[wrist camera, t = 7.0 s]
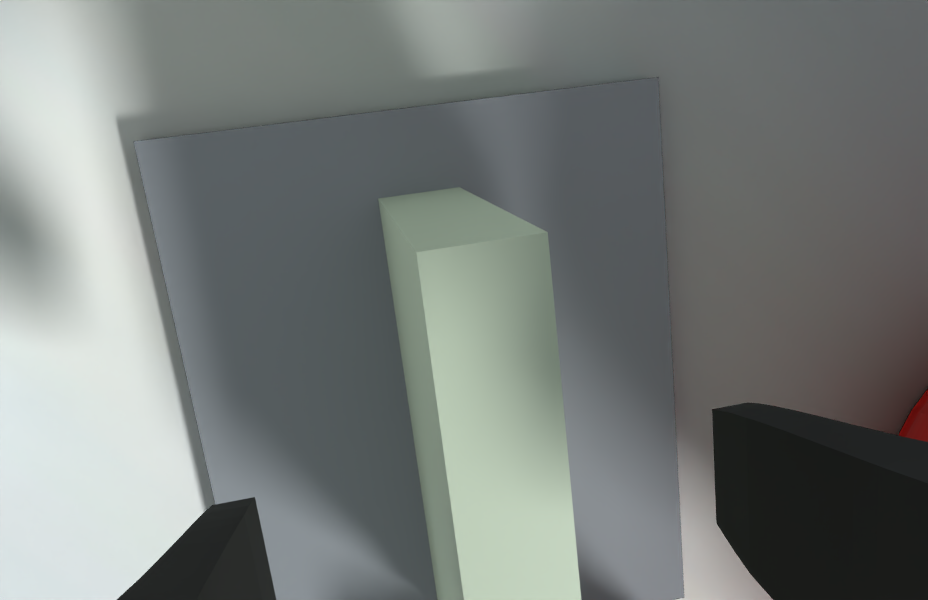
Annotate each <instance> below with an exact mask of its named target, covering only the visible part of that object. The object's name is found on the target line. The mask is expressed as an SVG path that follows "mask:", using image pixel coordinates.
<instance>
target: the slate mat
mask: <svg viewBox="0 0 928 600" xmlns="http://www.w3.org/2000/svg"><path fill="white" fill-rule="evenodd" d="M134 146H135V150H136V155H137V159H138V164H139V168H140V173H141V177H142V181H143V186H144V190H145V195H146V199H147V204H148V208H149V213H150V217H151V221H152V226H153V230H154V235H155V239H156V244H157V248H158V252H159V257H160V261H161V266H162V270H163V275H164V279H165V284H166V288H167V292H168V297H169V301H170V306H171V310H172V315H173V319H174V323H175V328H176V332H177V337H178V341H179V346H180V350H181V355H182V359H183V363H184V368H185V372H186V377H187V381H188V386H189V390H190V394H191V399H192V403H193V408H194V412H195V417H196V421H197V426H198V430H199V434H200V439H201V443H202V448H203V452H204V457H205V461H206V465H207V470H208V474H209V479H210V483H211V488H212V492H213V497H214V501H215V505H216V504H221V503H226V502H231V501H237V500H242V499H247V498H252V497H255V500H256V505H257V509H258V514H259V519H260V524H261V529H262V533H263V538H264V543H265V548H266V553H267V557H268V562H269V567H270V572H271V576H272V581H273V586H274V591H275V596H276V600H437V593H436V586H435V579H434V573H433V566H432V559H431V552H430V546H429V539H428V532H427V525H426V519H425V512H424V505H423V498H422V492H421V485H420V478H419V471H418V465H417V458H416V451H415V444H414V437H413V431H412V424H411V417H410V410H409V404H408V397H407V390H406V383H405V377H404V370H403V363H402V356H401V350H400V343H399V336H398V329H397V323H396V316H395V309H394V302H393V295H392V289H391V282H390V275H389V268H388V262H387V255H386V248H385V241H384V235H383V228H382V221H381V214H380V208H379V201H378V199H379V198H386V197H393V196H400V195H407V194H414V193H421V192H428V191H436V190H443V189H450V188H457V187H460V188H462V189H464V190H466V191H468V192H470V193H472V194H474V195H476V196H478V197H480V198H482V199H484V200H486V201H488V202H490V203H491V204H493V205H495V206H497V207H499V208H501V209H503V210H505V211H507V212H509V213H511V214H513V215H515V216H517V217H519V218H521V219H523V220H525V221H527V222H529V223H531V224H533V225H535V226H536V227H538V228H540V229H542V230H544V231H546V232H548V241H549V252H550V263H551V274H552V285H553V296H554V306H555V317H556V328H557V339H558V350H559V361H560V372H561V383H562V394H563V405H564V416H565V427H566V438H567V449H568V460H569V471H570V481H571V492H572V503H573V514H574V525H575V536H576V547H577V558H578V569H579V580H580V591H581V600H675V599H680V598H684V582H683V562H682V542H681V522H680V502H679V482H678V462H677V442H676V422H675V402H674V382H673V362H672V342H671V322H670V301H669V281H668V261H667V241H666V221H665V201H664V181H663V161H662V141H661V121H660V101H659V81H658V77H656V78H647V79H639V80H631V81H623V82H614V83H606V84H598V85H590V86H582V87H574V88H566V89H557V90H549V91H541V92H533V93H525V94H517V95H508V96H500V97H492V98H484V99H476V100H468V101H459V102H451V103H443V104H435V105H427V106H419V107H410V108H402V109H394V110H386V111H378V112H370V113H361V114H353V115H345V116H337V117H329V118H321V119H312V120H304V121H296V122H288V123H280V124H272V125H263V126H255V127H247V128H239V129H231V130H223V131H215V132H206V133H198V134H190V135H182V136H174V137H166V138H157V139H149V140H141V141H134Z"/></svg>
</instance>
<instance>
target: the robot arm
mask: <svg viewBox="0 0 928 600" xmlns="http://www.w3.org/2000/svg"><path fill="white" fill-rule="evenodd" d="M712 415H713V442H714V468H715V495H716V521H717V525H718V526H719V528H720V529H721V531H722V533H723V534H724V536H725V537H726V539H727V540H728V542H729V543H730V545H731V546H732V548H733V550H734V551H735V552H736V554H737V555H738V557H739V558H740V560H741V561H742V562H743V564H744V565H745V567H746V568H747V570H748V571H749V572H750V574H751V575H752V576H753V577H754V578H755V580H756V581H757V582H758V583H759V584H760V585H761V586H762V588H763V589H764V590H765V591H766V592H767V593H768V594H769V595H770V596H771V598H772V599H773V600H928V442H926V441H921V440H916V439H911V438H907V437H902V436H898V435H894V434H889V433H885V432H881V431H876V430H872V429H868V428H864V427H860V426H856V425H852V424H848V423H844V422H840V421H836V420H832V419H827V418H823V417H819V416H815V415H811V414H807V413H803V412H799V411H794V410H790V409H785V408H781V407H776V406H770V405H764V404H756V403H743V404H738V405H733V406H728V407H723V408H717V409H712ZM117 600H276V596H275V591H274V586H273V581H272V576H271V572H270V567H269V562H268V557H267V553H266V548H265V543H264V538H263V533H262V529H261V524H260V519H259V514H258V509H257V505H256V500H255V497H252V498H247V499H242V500H237V501H231V502H226V503H221V504H216V505H212V506H211V507H210V508H209V509H207V510H206V511H205V512H204V513H203V514H202V515H201V516H200V517H199V518H198V519H197V520H196V521H195V522H194V523H193V524H192V525H191V526H190V527H189V529H188V530H187V531H186V532H185V533H184V534H183V535H182V536H181V537H180V538H179V539H178V540H177V541H176V542H175V543H174V544H173V545H172V546H171V547H170V548H169V549H168V550H167V551H166V552H165V554H164V555H163V556H162V557H161V558H160V559H159V560H158V561H157V562H156V563H155V564H154V565H153V566H152V567H151V568H150V569H149V570H148V571H147V572H146V573H145V574H144V575H143V576H142V577H141V578H140V579H139V580H138V581H137V582H136V583H134V584H133V585H132V586H131V587H130V588H129V589H128V590H127V591H126V592H125V593H124V594H123V595H122V596H120V597H119V598H118V599H117Z"/></svg>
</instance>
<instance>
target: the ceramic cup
mask: <svg viewBox="0 0 928 600" xmlns="http://www.w3.org/2000/svg"><path fill="white" fill-rule="evenodd" d="M899 436H902V437H907V438H911V439H916V440H921V441H926V442H928V389H927V390H926V392H925V393H924V394H923V396H922V397H921V398H920V400H919V401H918V402H917V404H916V405H915V406H914V408H913V409H912V410H911V412H910V414H909V416H908V418H907V420H906V422H905V423H904V425H903V427H902V429H901V431H900V433H899Z"/></svg>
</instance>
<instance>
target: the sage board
mask: <svg viewBox="0 0 928 600" xmlns="http://www.w3.org/2000/svg"><path fill="white" fill-rule="evenodd" d="M378 201H379V208H380V214H381V221H382V228H383V235H384V241H385V248H386V255H387V262H388V268H389V275H390V282H391V289H392V295H393V302H394V309H395V316H396V323H397V329H398V336H399V343H400V350H401V356H402V363H403V370H404V377H405V383H406V390H407V397H408V404H409V410H410V417H411V424H412V431H413V437H414V444H415V451H416V458H417V465H418V471H419V478H420V485H421V492H422V498H423V505H424V512H425V519H426V525H427V532H428V539H429V546H430V552H431V559H432V566H433V573H434V579H435V586H436V593H437V600H581V591H580V580H579V569H578V558H577V547H576V536H575V525H574V514H573V503H572V492H571V481H570V471H569V460H568V449H567V438H566V427H565V416H564V405H563V394H562V383H561V372H560V361H559V350H558V339H557V328H556V317H555V306H554V296H553V285H552V274H551V263H550V252H549V241H548V232H546V231H544V230H542V229H540V228H538V227H536V226H535V225H533V224H531V223H529V222H527V221H525V220H523V219H521V218H519V217H517V216H515V215H513V214H511V213H509V212H507V211H505V210H503V209H501V208H499V207H497V206H495V205H493V204H491V203H490V202H488V201H486V200H484V199H482V198H480V197H478V196H476V195H474V194H472V193H470V192H468V191H466V190H464V189H462V188H460V187H457V188H450V189H443V190H436V191H428V192H421V193H414V194H407V195H400V196H393V197H386V198H379V199H378Z"/></svg>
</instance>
